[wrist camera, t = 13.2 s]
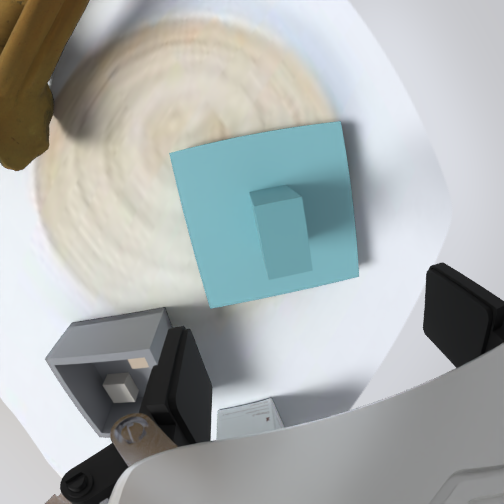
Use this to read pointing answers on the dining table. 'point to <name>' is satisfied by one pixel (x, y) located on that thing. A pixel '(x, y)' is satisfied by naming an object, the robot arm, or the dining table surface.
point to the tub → (109, 364)
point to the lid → (269, 212)
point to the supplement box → (248, 419)
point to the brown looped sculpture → (30, 72)
